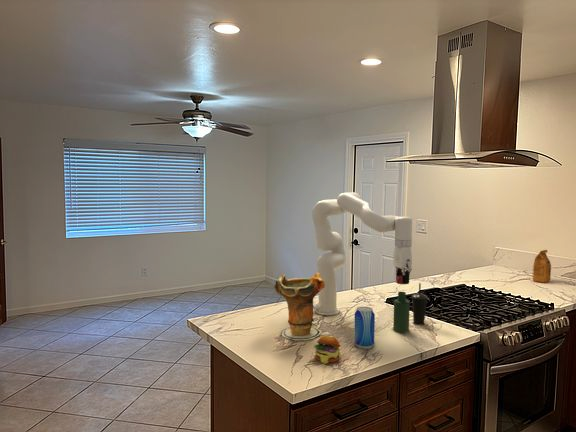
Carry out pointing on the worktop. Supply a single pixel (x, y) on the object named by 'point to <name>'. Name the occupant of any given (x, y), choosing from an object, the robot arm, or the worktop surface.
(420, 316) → the drinking cup
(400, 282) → the cap
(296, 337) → the decorative vase
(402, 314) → the bottle
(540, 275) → the coffee package
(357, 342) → the beer can
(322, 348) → the cheeseburger
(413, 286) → the worktop surface
